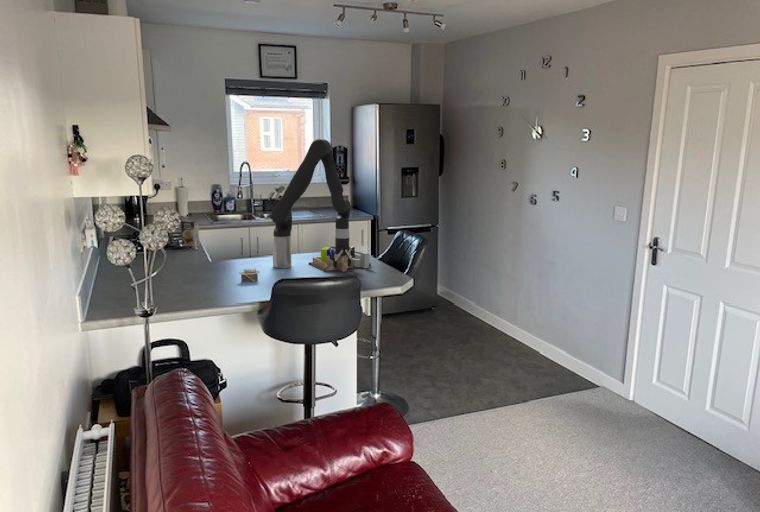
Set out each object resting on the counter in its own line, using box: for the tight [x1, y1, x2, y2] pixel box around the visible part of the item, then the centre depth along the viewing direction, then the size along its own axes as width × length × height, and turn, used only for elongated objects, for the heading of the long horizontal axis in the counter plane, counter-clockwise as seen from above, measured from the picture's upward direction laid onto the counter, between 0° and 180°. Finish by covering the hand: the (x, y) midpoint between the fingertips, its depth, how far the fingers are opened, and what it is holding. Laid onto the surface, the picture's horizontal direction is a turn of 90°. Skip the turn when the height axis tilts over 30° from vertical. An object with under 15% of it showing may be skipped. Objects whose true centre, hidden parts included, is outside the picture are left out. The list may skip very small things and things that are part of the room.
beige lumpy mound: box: [312, 255, 353, 272], centre depth 307 cm, size 16×23×8 cm
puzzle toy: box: [320, 245, 338, 263], centre depth 309 cm, size 10×10×10 cm
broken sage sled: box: [351, 251, 370, 269], centre depth 315 cm, size 9×22×8 cm, turn 32°
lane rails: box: [308, 261, 372, 272], centre depth 314 cm, size 29×19×1 cm, turn 122°
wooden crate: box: [238, 268, 260, 283], centre depth 276 cm, size 12×18×7 cm, turn 110°
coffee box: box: [180, 219, 200, 247], centre depth 363 cm, size 9×6×16 cm
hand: (342, 266), depth 300 cm, fingers open, 7 cm apart
